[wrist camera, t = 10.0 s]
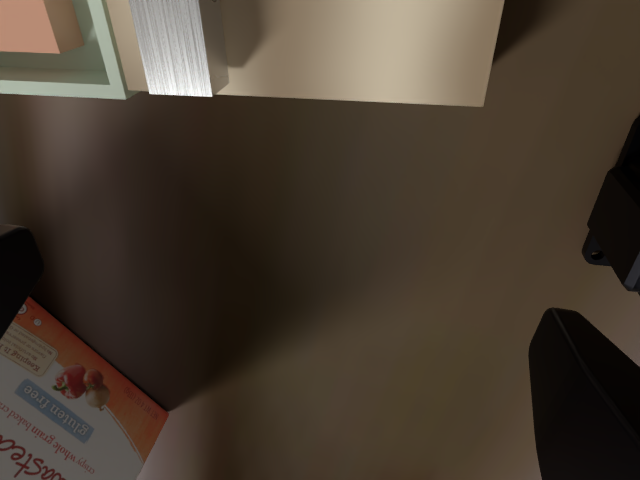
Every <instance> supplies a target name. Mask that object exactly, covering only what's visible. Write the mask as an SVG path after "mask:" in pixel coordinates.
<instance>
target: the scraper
mask: <svg viewBox="0 0 640 480" xmlns="http://www.w3.org/2000/svg"><path fill="white" fill-rule="evenodd" d="M128 1H129V5H130V10H131V14H132V18H133V23H134V27H135V32H136V36H137V41H138V45H139V50H140V54H141V58H142V63H143V67H144V72H145V76H146V81H147V85H148V90H149V94H161V95H183V96H205V97H213V96H214V95H215V94H217V93H218V92H219V91H220V90H221V89H223V88H224V87H225V86H226V85H228V84H229V83H230V82H229V74H228V66H227V58H226V49H225V41H224V33H223V25H222V16H221V8H220V0H128Z"/></svg>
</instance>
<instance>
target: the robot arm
mask: <svg viewBox="0 0 640 480" xmlns="http://www.w3.org/2000/svg"><path fill="white" fill-rule="evenodd" d="M587 226H588V228H589V229H590V230H589V233H588V235H587V238H586V240H585V243H584V245H583V248H582V254H583V256H584V258H585V260H586V261H587V262H588V263H589V264H593V265H603V266H612V268H613V270H614V272H615V273H616V275H617V277H618V278H619V280H620V282H621V283H622V285H623V286H624V287H625V288H626V290H628V291H632V292H638V294H639V295H640V116H639V117H638V118H636V119H635V121H634V122H633V124H632V126H631V129H630V131H629V134H628V136H627V139H626V141H625V144H624V146H623V149H622V151H621V154H620V156H619V159H618V161H617V163H616V166H614V167H613V168H612V169H610V170H609V171H608V172H607V175H606V177H605V180H604V182H603V185H602V188H601V190H600V193H599V195H598V198H597V200H596V203H595V205H594V208H593V210H592V213H591V215H590V218H589V220H588V223H587ZM597 250H601V251H600V252H599V253H598V254H594V255H592V253H593V252H594V251H597ZM43 271H44V261H43V258H42V256H41V253H40V251H39V248H38V246H37V243H36V241H35V238H34V236H33V234H32V232H31V231H30V230H29V229H28V228H26V227H24V226H18V225H11V224H1V225H0V340H1V338H2V337H3V335H4V334H5V332H6V331H7V329H8V328H9V326H10V325H11V323H12V322H13V320H14V318H15V317H16V315H17V314H18V312H19V311H20V309H21V308H22V306H23V304H24V303H25V301H26V300H27V298H28V297H29V295H30V294H31V292H32V290H33V289H34V287H35V286H36V284H37V283H38V281H39V280H40V278H41V276H42V274H43ZM528 356H529V370H530V382H531V395H532V407H533V420H534V432H535V441H536V450H537V456H538V461H539V467H540V472H541V477H542V480H640V367H639V366H638V365H637V364H635V363H634V362H633V361H632V360H631V359H630V358H629V357H628V356H627V355H625V354H624V353H623V352H622V351H621V350H620V349H619V348H618V347H617V346H615V345H614V344H613V343H612V342H611V341H610V340H609V339H608V338H607V337H605V336H604V335H603V334H602V333H601V332H600V331H599V330H598V329H597V328H595V327H594V326H593V325H592V324H591V323H590V322H589V321H588V320H587V319H585V318H584V317H583V316H582V315H581V314H580V313H578V312H576V311H573V310H567V309H560V308H549V309H547V310H546V311H545V313H544V314H543V316H542V319H541V321H540V323H539V325H538V327H537V330H536V332H535V334H534V336H533V338H532V340H531V343H530V346H529V355H528Z"/></svg>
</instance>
